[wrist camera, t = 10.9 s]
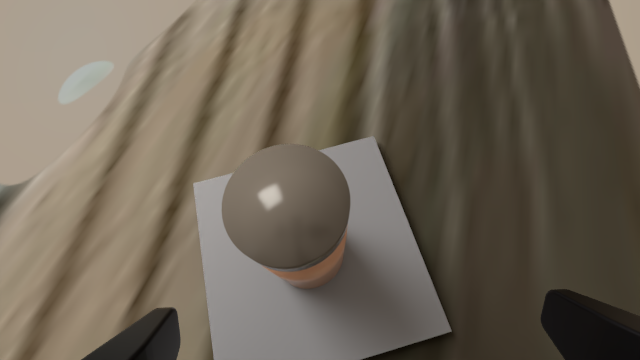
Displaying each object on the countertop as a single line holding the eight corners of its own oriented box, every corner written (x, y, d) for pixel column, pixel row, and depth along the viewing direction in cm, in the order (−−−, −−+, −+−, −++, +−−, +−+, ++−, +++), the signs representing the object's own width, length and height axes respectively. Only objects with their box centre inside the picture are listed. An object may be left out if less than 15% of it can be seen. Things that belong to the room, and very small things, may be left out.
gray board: (447, 330, 19) (451, 331, 19) (223, 400, 18) (219, 403, 18) (372, 141, 25) (373, 136, 24) (197, 187, 24) (193, 183, 23)
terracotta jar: (356, 268, 20) (374, 230, 11) (288, 302, 20) (246, 291, 10) (325, 205, 22) (317, 126, 13) (261, 233, 21) (205, 173, 12)
